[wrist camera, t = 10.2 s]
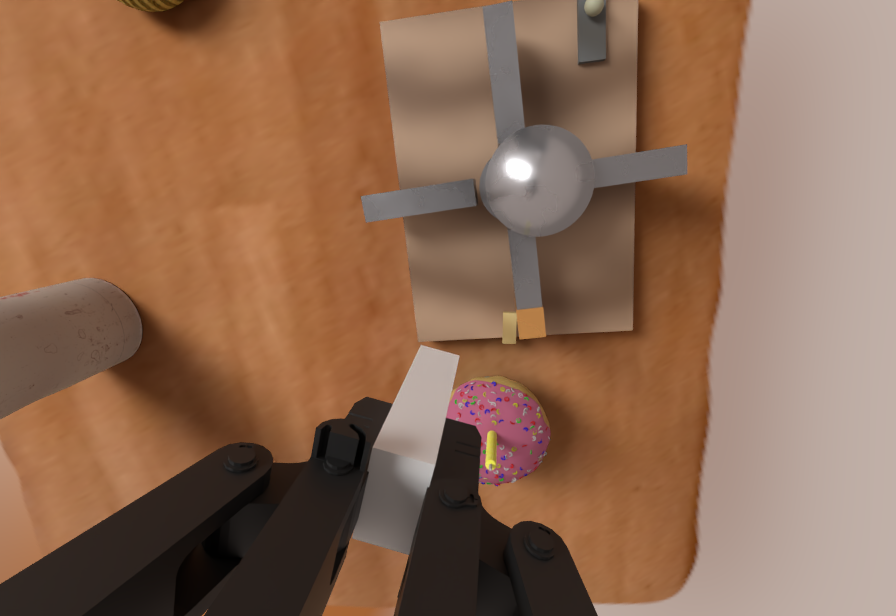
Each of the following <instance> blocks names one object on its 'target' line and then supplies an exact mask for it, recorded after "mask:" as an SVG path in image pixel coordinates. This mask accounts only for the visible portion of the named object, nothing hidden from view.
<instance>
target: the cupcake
mask: <svg viewBox="0 0 896 616" xmlns="http://www.w3.org/2000/svg"><path fill="white" fill-rule="evenodd" d="M446 418H449V419H453V420H456V421H460V422H463V423H467V424H471V425H474V426H476V427H477V429H478V431H479V433H480V435H481V437H482V440H481V455H480V470H479V483H480V482H481V483H482V484H485V483H487V484H495V485H496V486H498V485H500V484H502V483H509V482H512V483H513V482H515V481H517V480H518V479H521V478H522V477H524V476H527V475H528V474H529V473H531V472H533V471H534V470H536V469H537V467H538V466H539V464H540V463H541V462H542V459H543V457H544V456H545V455H546V454H547V452H546V449H547V446H548V443H549V440H551V439H550V435H551V431H550V426H549V422H548V420H547V417H546V415H545V412H544V410H543V408H542V406H541V405H540V403H539V401H538V400H537V398H536V397H535V396H534V394H533V393H532V392H531V391H530V390H529V389H528V388H526V387H525V386H524V385H522V384H521V383H519V382H517V381H514V380H511V379H508V378H506V377H503V376H491V377H477V378H473V379H471V380H470V381H468V382H466V383H464V384H462V385H461V386H459V387H457V388H456V389H454V390H453V391H452V392H451V397H450V401H449V406H448V410H447V415H446ZM545 453H546V454H545Z"/></svg>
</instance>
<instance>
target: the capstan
mask: <svg viewBox="0 0 896 616" xmlns="http://www.w3.org/2000/svg"><path fill="white" fill-rule="evenodd" d="M482 8H483V19H484V30H485V39H486V47H487V56H488V65H489V74H490V82H491V91H492V100H493V109H494V117H495V126H496V135H497V144H498V148H497V149H496V151H495V152H494V154H493V156H492V158H491V159H490V160H489V161H488V162H487V164H486V165H485V167H484V169H483V171H482V174H481V177H480V184H479V189H480V196H481V199H482V202H483V204H484V206H485V207H486V209H487V210H488V211H489V212H490V213H491V214H492V215H493V216H494V217H496V218H497V219H499V220H500V222H501V223H503V224H504V225H505V226H506V227H507V231H508V240H509V249H510V257H511V266H512V275H513V284H514V292H515V298H514V299H515V307H516V316H517V325H518V332H519V339H530V338H539V337H546V330H545V320H544V310H543V305H542V298H541V288H540V278H539V268H538V257H537V247H536V237H540V236H548V235H552V234H555V233H558V232H560V231H562V230H564V229H566V228H567V227H569V226H570V225H572V224H573V223H574V222H575V221H576V220H577V219H578V218H579V217H580V216H581V215H582V214H583V212H584V211H585V209H586V208H587V206H588V204H589V202H590V199H591V197H592V194H593V190H594V188H598V187H605V186H612V185H618V184H625V183H632V182H638V181H645V180H652V179H658V178H665V177H672V176H678V175H685V174H687V144H686V145H680V146H674V147H667V148H661V149H655V150H649V151H642V152H636V153H630V154H624V155H617V156H611V157H605V158H598V159H592V158H591V156H590V153H589V152H588V150H587V148H586V146H585V145H584V144H583V143H582V141H581V140H580V139H579V138H577V137H576V136H575V135H574V134H572V133H571V132H569V131H567V130H565V129H563V128H560V127H557V126H553V125H533V126H529V127H526V128H525V125H524V115H523V105H522V95H521V84H520V74H519V64H518V54H517V44H516V34H515V23H514V13H513V3H512V1H508V2H504V3H499V4H494V5H490V6H485V7H482ZM361 200H362V205H363V210H364V215H365V220H366V222H372V221H379V220H385V219H392V218H399V217H405V216H412V215H419V214H425V213H432V212H439V211H445V210H452V209H458V208H465V207H472V206H477V205H478V204H479V203H478V195H477V188H476V180H475V179H467V180H461V181H454V182H448V183H442V184H435V185H429V186H423V187H417V188H410V189H404V190H398V191H392V192H385V193H379V194H373V195H366V196H361Z"/></svg>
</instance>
